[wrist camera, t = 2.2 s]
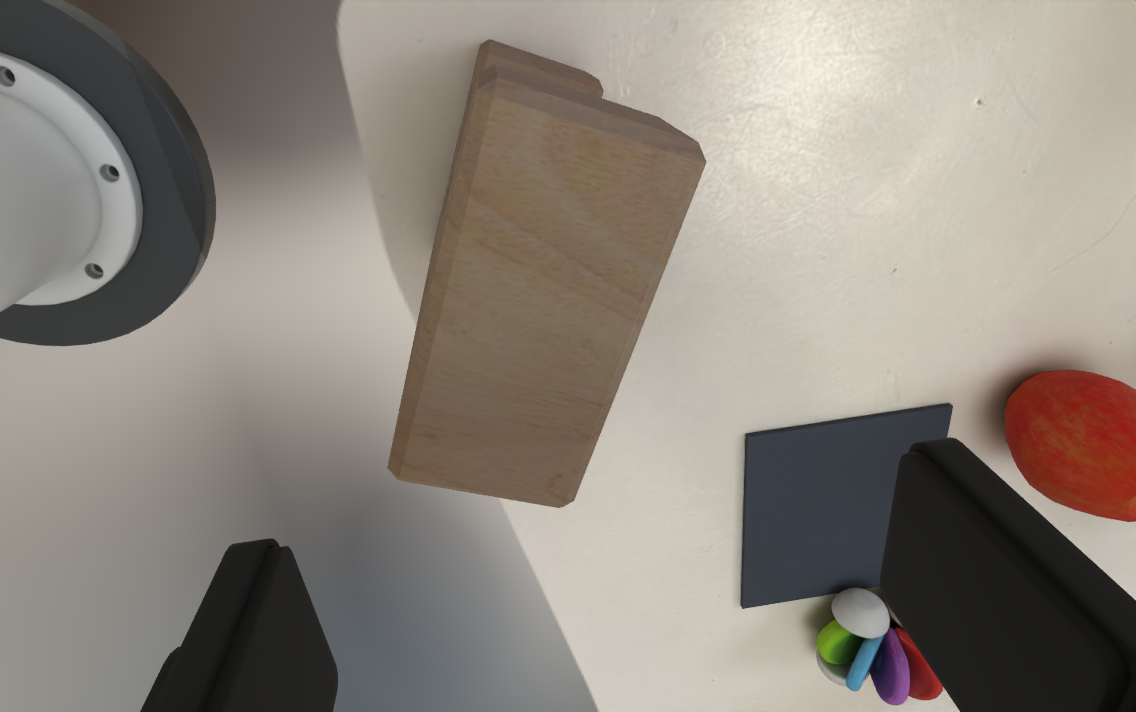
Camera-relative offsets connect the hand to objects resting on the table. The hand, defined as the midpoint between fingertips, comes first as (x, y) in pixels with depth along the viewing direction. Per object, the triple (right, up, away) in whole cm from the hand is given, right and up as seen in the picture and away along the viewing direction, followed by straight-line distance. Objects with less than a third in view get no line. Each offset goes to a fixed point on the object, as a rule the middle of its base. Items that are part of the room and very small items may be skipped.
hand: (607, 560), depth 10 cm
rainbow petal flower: (+23, -17, +43) cm, 52 cm away
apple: (+31, 0, +35) cm, 47 cm away
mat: (+19, -8, +38) cm, 43 cm away
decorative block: (-4, +13, +24) cm, 28 cm away
